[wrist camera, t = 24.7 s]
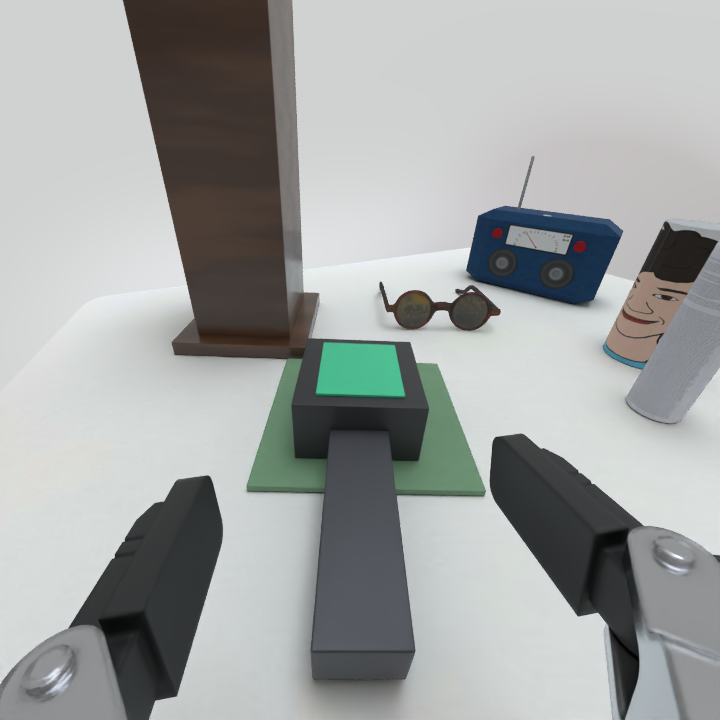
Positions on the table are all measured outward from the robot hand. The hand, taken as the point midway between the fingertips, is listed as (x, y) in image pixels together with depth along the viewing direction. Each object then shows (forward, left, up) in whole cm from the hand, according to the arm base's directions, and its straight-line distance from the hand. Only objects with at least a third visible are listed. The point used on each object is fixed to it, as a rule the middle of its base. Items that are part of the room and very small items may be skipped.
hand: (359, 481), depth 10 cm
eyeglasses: (+30, +30, -12) cm, 44 cm away
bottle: (+34, +2, -12) cm, 36 cm away
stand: (+6, +34, -12) cm, 37 cm away
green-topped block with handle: (+5, +8, -11) cm, 14 cm away
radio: (+53, +30, -12) cm, 62 cm away
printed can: (+44, +8, -12) cm, 46 cm away
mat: (+9, +13, -12) cm, 20 cm away
